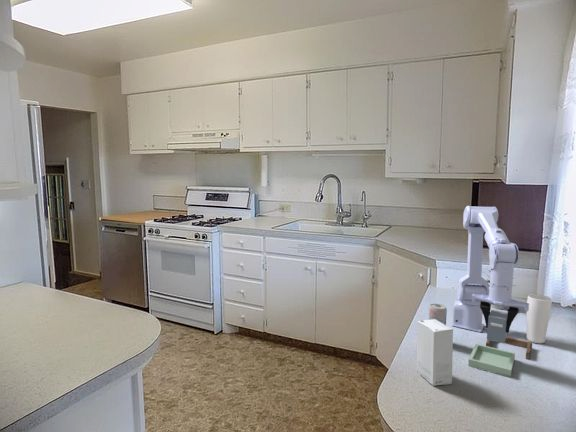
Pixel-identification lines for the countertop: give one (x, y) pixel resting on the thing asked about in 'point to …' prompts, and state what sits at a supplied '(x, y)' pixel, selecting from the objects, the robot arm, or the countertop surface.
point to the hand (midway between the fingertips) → (497, 329)
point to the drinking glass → (537, 317)
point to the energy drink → (438, 313)
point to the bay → (516, 344)
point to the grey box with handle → (497, 326)
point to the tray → (492, 360)
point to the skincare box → (434, 351)
